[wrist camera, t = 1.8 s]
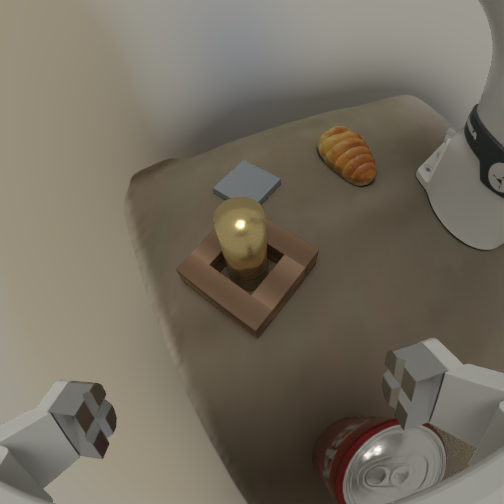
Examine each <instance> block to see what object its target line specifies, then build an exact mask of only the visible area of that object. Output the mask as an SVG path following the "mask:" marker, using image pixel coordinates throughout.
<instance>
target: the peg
mask: <svg viewBox="0 0 504 504" xmlns="http://www.w3.org/2000/svg"><path fill="white" fill-rule="evenodd" d="M213 223H214V227H215V230H216V233H217V236H218V239H219V243H220V246H221V249H222V252H223V255H224V258H225V262H226V265H227V268H228V271H229V274H230V277H231V280H232V282H233V283H235V284H236V285H238V286H239V287H240V288H242V289H243V290H245V291H253V290H256V289H257V288H258V286H259V285H260V284H261V283H262V282H263V280H264V279H265V278H266V277H267V276H268V256H267V239H266V223H265V212H264V209H263V207H262V206H261V205H260V203H258V202H257V201H256V200H254V199H252V198H248V197H234V198H230V199H228V200H226V201H224V202H223V203H221V204H220V205H219V206H218V207H217V209H216V210H215V212H214V216H213Z"/></svg>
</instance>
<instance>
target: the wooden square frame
mask: <svg viewBox="0 0 504 504" xmlns="http://www.w3.org/2000/svg"><path fill="white" fill-rule="evenodd" d="M265 223H266V239H267V256H268V258H269V259H270V260H272V261H274V262H275V263H277V265H276V266H275V267H274V268H273V269H272V271H271V272H270V273H269V274H268V276H267V277H266V278H265V279H264V280H263V282H262V283H261V284H260V285H259V286H258V288H257V289H256V290H255V291H254V292H253V294H252V295H250V294H249V293H247V292H246V291H245V290H243V289H242V288H240V287H239V286H238V285H236V284H235V283H233V282H232V281H231V280H229V279H228V278H227V277H225V276H224V275H222V274H221V273H220V271H221V270H222V269H223V268H224V267H225V266H226V262H225V258H224V255H223V252H222V249H221V246H220V243H219V239H218V236H217V233H216V230H215V229H214V230H213V231H212V232H211V233H210V234H209V235H208V236H207V237H206V238H205V239H204V240H203V241H202V242H201V243H200V244H199V245H198V246H197V247H196V248H195V249H194V250H193V251H192V252H191V254H190V255H189V256H188V257H187V258H186V259H185V260H184V261H183V262H182V263H181V264H180V265H179V266H178V267H177V268H176V271H177V272H178V274H179V275H180V277H181V278H182V280H183V281H184V282H185V283H186V284H187V285H188V286H190V287H191V288H192V289H193V290H195V291H196V292H197V293H198V294H200V295H201V296H202V297H203V298H205V299H206V300H207V301H209V302H210V303H211V304H212V305H214V306H215V307H216V308H218V309H219V310H220V311H221V312H223V313H224V314H225V315H227V316H228V317H229V318H231V319H232V320H233V321H234V322H236V323H237V324H238V325H240V326H241V327H242V328H244V329H245V330H246V331H248V332H249V333H250V334H252V335H253V336H255V337H256V338H257V339H258V338H259V336H260V335H261V334H262V333H263V331H264V330H265V329H266V328H267V326H268V325H269V324H270V323H271V321H272V320H273V319H274V318H275V316H276V315H277V314H278V312H279V311H280V310H281V309H282V307H283V306H284V305H285V303H286V302H287V301H288V300H289V298H290V297H291V296H292V294H293V293H294V292H295V291H296V289H297V288H298V287H299V285H300V284H301V283H302V281H303V280H304V279H305V277H306V276H307V275H308V273H309V272H310V271H311V269H312V268H313V267H314V265H315V264H316V260H317V256H318V251H319V250H318V249H317V248H315V247H314V246H312V245H310V244H309V243H307V242H305V241H304V240H302V239H300V238H299V237H297V236H295V235H294V234H292V233H291V232H289V231H287V230H286V229H284V228H282V227H280V226H279V225H277V224H275V223H274V222H272V221H270V220H269V219H267V218H265Z"/></svg>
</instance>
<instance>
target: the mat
mask: <svg viewBox="0 0 504 504" xmlns="http://www.w3.org/2000/svg"><path fill="white" fill-rule="evenodd" d="M280 185H281V179H280V178H278V177H276V176H274V175H273V174H271V173H269V172H267V171H265V170H263V169H261V168H259V167H257V166H254V165H252V164H250V163H248V162H246V161H244V160H243V161H242V162H241V163H240V164H239V165H237V166H236V167H235V168H234V169H233V170H232V171H231V172H230V173H229V174H227V175H226V176H225V177H224V178H223V179H222V180H221V181H220V182H219V183H218V184H217V185H215V186H214V187H213V191H214V193H215V194H216V195H218V196H220V197H221V198H223V199H225V200H228V199H230V198H234V197H248V198H252V199H254V200H256V201H257V202H258V203H260V205H261V204H262V203H263V202H264V201H265V200H266V199H267V198H268V197H269V196H270V195H271V194H272V193H273V192H274V191H275V190H276V189H277V188H278V187H279V186H280Z"/></svg>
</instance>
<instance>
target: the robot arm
mask: <svg viewBox="0 0 504 504" xmlns="http://www.w3.org/2000/svg"><path fill="white" fill-rule="evenodd" d="M479 2H480V3H481V5H482V7H483V9H484V11H485V14H486V16H487V19H488V22H489V25H490V29H491V34H492V40H493V55H492V61H491V66H490V71H489V75H488V78H487V82H486V85H485V88H484V91H483V94H482V96H481V99H480V102H479V104H476V105H475V106H474V108H473V110H472V111H471V112H470V114H469V116H468V119H467V122H466V125H465V126H464V127H463V128H462V129H461V130H459V131H458V132H457V131H455V130H454V129H452V128H449V129H448V131H447V132H446V134H445V137H444V142H443V143H442V144H441V145H440V147H439V148H438V149H437V150H436V151H435V152H434V153H433V154H432V155H431V156H430V157H429V158H428V159H427V160H426V161H425V162H424V163H423V164H422V165H421V166H420V167H419V168H418V170H417V172H416V177H417V179H418V180H419V182H420V183H421V184H422V185H423V187H424V188H425V189H426V191H427V194H428V197H429V200H430V203H431V205H432V208H433V209H434V211H435V213H436V215H437V216H438V218H439V219H440V221H441V222H442V223H443V225H444V226H445V227H446V228H447V229H448V230H449V231H450V232H451V233H452V234H453V235H454V236H456V237H457V238H458V239H459V240H461V241H462V242H464V243H466V244H468V245H469V246H472V247H474V248H477V249H482V250H491V249H494V248H497V247H498V246H500V245H502V244H504V0H479ZM385 365H386V366H387V368H388V370H387V371H386V373H385V374H384V375H383V382H382V387H383V394H384V397H385V400H386V401H387V403H388V405H389V406H391V407H393V408H396V411H395V417H396V419H397V421H398V422H399V424H400V426H401V427H402V429H403V431H405V430H408V429H411V428H414V427H416V426H419V425H422V424H425V423H428V422H430V424H432V425H434V426H436V427H437V428H439V429H441V430H443V431H445V432H447V433H449V434H450V435H452V436H454V437H456V438H458V439H460V440H462V441H464V442H465V443H467V444H469V445H471V446H473V447H475V448H477V449H476V450H475V452H474V454H473V455H472V457H471V459H470V461H469V463H468V466H469V467H468V468H466V469H464V470H463V471H461V472H459V473H457V474H455V475H453V476H451V477H449V478H447V479H445V480H443V481H441V482H439V483H437V484H435V485H432V486H430V487H428V488H426V489H423V490H421V491H419V492H416V493H414V494H411V495H409V496H406V497H404V498H401V499H398V500H395V501H393V502H390V503H387V504H504V373H501V372H497V371H493V370H490V369H486V368H482V367H479V366H475V365H472V364H465V365H463V364H462V363H461V362H460V361H459V360H458V359H457V358H456V357H455V356H454V355H453V354H452V353H451V352H450V351H449V350H448V349H447V348H446V347H445V346H444V345H443V344H441V343H440V342H439V341H438V340H437V339H436V338H429V339H426V340H423V341H420V342H418V343H416V344H412V345H409V346H406V347H402V348H399V349H395V350H391V351H388V352H387V354H386V358H385ZM105 396H106V393H105V390H104V389H103V386H102V385H101V384H99V383H92V382H80V381H68V380H58V381H56V382H55V383H54V385H53V386H52V387H51V389H50V390H49V391H48V393H47V394H46V395H45V397H44V398H43V399H42V401H41V402H40V403H39V405H38V406H37V407H36V409H35V410H32V409H31V410H29V411H27V412H25V413H23V414H22V415H20V416H18V417H16V418H14V419H12V420H10V421H8V422H7V423H4V424H3V425H1V426H0V504H54V503H53V500H52V498H51V496H50V495H49V494H48V493H47V492H46V491H44V489H43V488H44V487H46V486H47V485H48V484H49V483H50V482H52V481H53V480H54V479H55V478H56V477H58V476H59V475H60V474H61V473H62V472H63V471H64V470H66V469H67V468H68V467H69V466H70V465H71V464H73V463H74V462H75V461H76V460H77V459H78V458H80V456H85V457H91V458H99V459H103V458H104V455H105V453H106V450H107V448H108V446H109V442H108V439H107V438H108V437H109V436H110V435H112V434H113V433H114V431H115V428H116V414H115V410H114V408H113V406H112V405H111V404H110V403H109V402H108V401H107V400H105Z"/></svg>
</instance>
